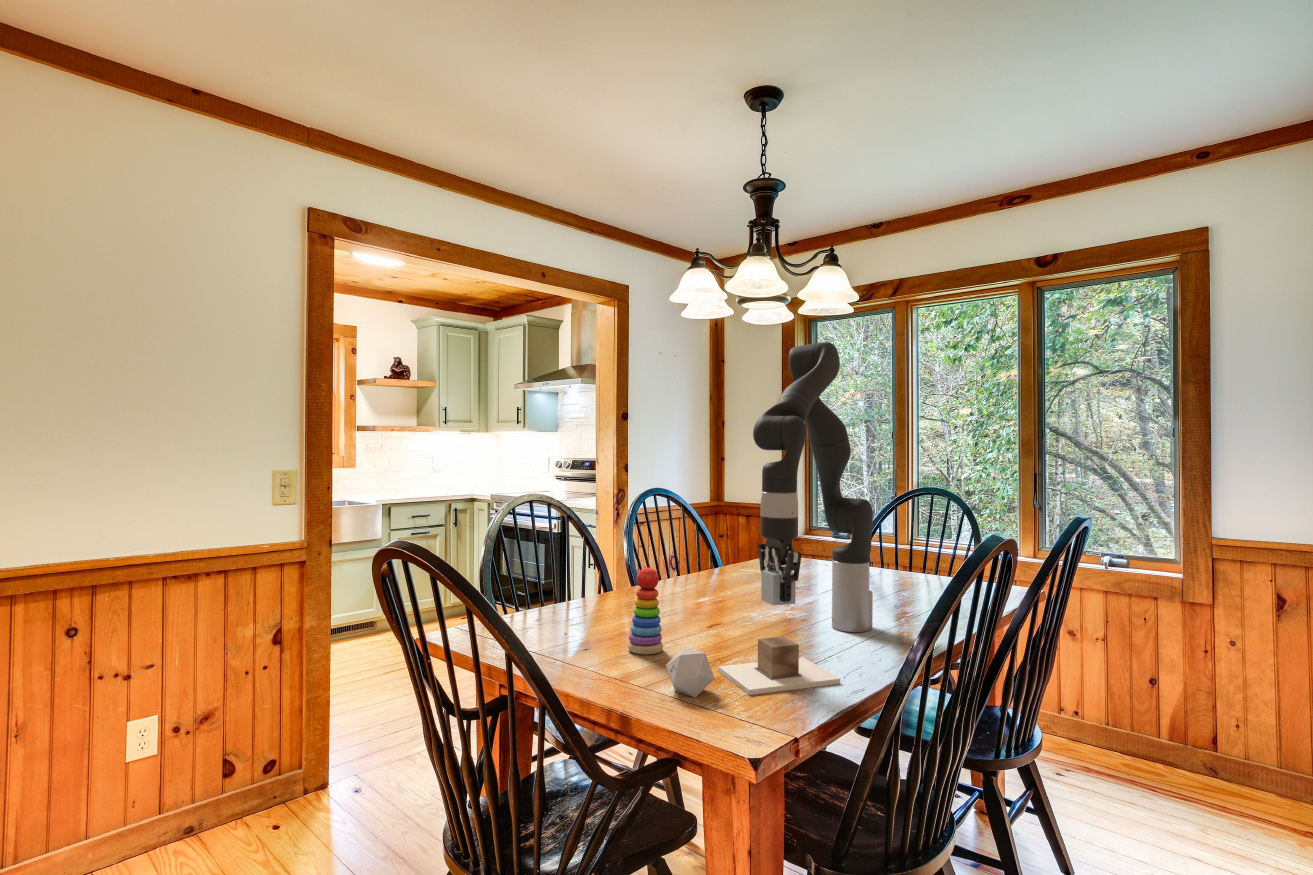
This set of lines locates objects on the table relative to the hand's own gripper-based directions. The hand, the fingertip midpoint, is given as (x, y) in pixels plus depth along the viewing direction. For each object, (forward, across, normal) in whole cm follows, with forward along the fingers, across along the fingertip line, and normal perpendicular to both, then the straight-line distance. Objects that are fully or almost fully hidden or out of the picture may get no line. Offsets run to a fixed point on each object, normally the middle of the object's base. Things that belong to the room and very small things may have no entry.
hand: (778, 597), depth 140 cm
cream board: (+16, 0, 0) cm, 16 cm away
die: (+16, -2, +20) cm, 26 cm away
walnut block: (+15, 0, 0) cm, 15 cm away
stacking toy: (+16, +25, +20) cm, 36 cm away
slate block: (+1, 0, 0) cm, 1 cm away
